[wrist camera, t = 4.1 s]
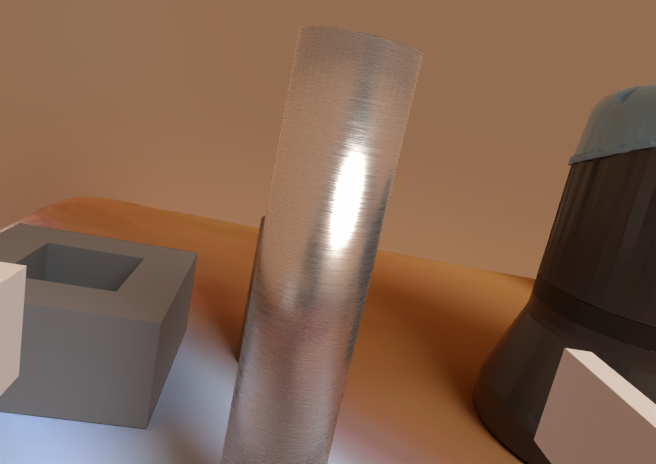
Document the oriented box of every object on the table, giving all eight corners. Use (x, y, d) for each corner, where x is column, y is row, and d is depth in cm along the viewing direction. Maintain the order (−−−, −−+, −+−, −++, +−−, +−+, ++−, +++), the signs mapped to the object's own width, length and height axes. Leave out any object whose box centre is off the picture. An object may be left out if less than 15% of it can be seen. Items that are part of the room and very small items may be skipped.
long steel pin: (301, 519, 23) (406, 59, 19) (305, 603, 20) (439, 50, 15) (211, 510, 23) (297, 34, 18) (197, 594, 19) (301, 18, 14)
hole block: (186, 329, 39) (197, 252, 37) (146, 429, 27) (160, 323, 26) (14, 304, 37) (20, 223, 36) (-106, 398, 26) (-105, 284, 24)
